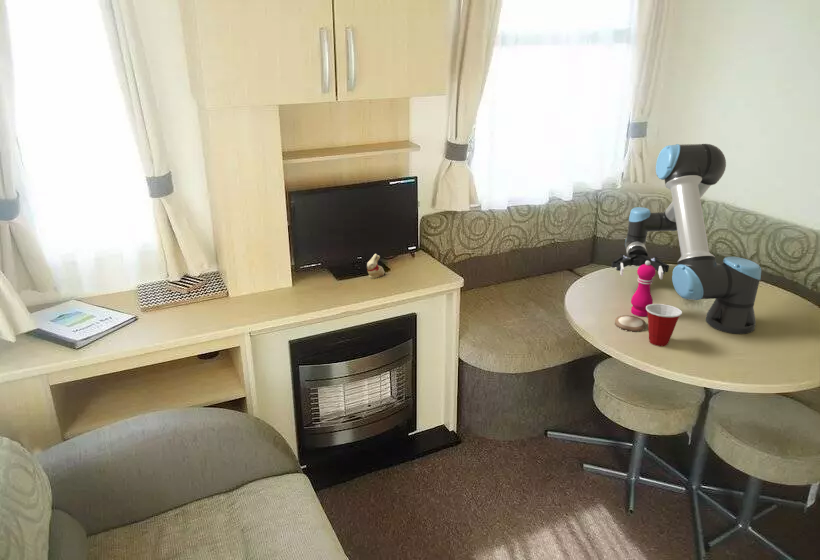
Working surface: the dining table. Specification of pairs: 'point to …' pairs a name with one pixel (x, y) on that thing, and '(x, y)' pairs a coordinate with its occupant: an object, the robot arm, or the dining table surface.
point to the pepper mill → (643, 290)
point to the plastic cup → (661, 323)
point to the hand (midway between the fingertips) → (641, 274)
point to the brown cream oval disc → (630, 323)
